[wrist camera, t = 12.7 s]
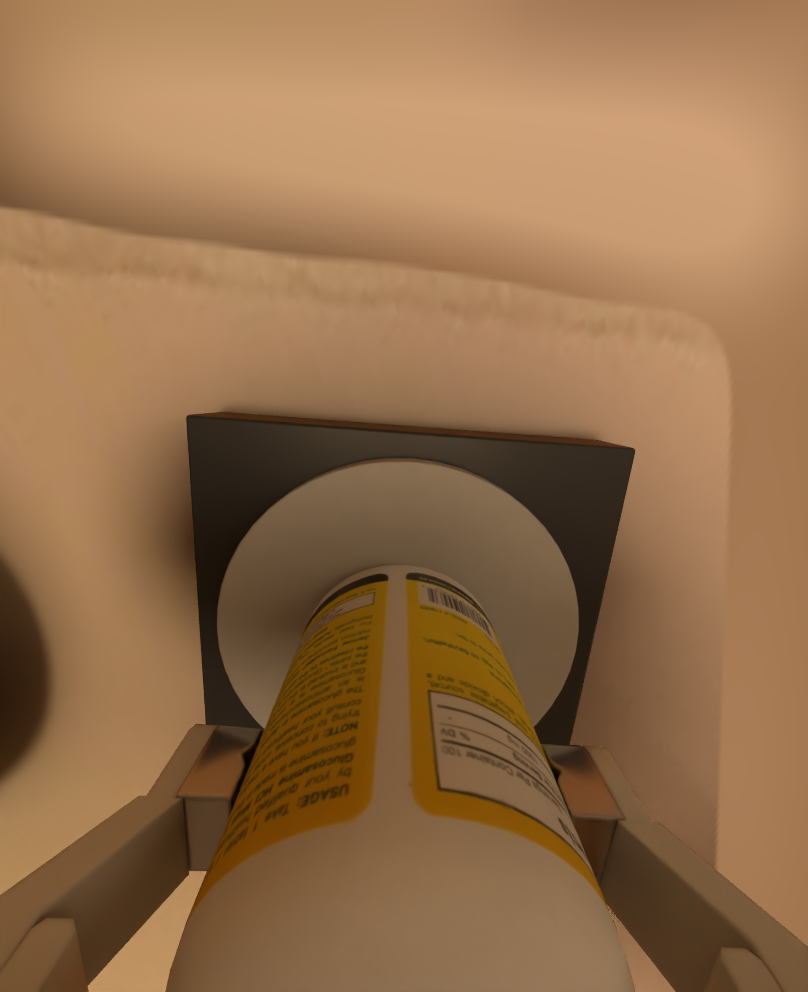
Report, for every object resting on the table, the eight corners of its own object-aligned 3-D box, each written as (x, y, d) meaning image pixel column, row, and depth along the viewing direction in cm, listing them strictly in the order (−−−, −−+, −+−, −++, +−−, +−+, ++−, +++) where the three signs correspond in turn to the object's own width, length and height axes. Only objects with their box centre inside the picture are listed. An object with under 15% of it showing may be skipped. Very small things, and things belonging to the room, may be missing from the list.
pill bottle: (314, 724, 14) (-12, 1943, 3) (297, 560, 12) (-537, 1869, 1) (491, 719, 14) (826, 1927, 3) (497, 555, 12) (1263, 1823, 1)
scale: (599, 440, 14) (653, 451, 11) (532, 777, 18) (558, 854, 15) (220, 411, 14) (169, 415, 11) (235, 761, 18) (200, 837, 15)
